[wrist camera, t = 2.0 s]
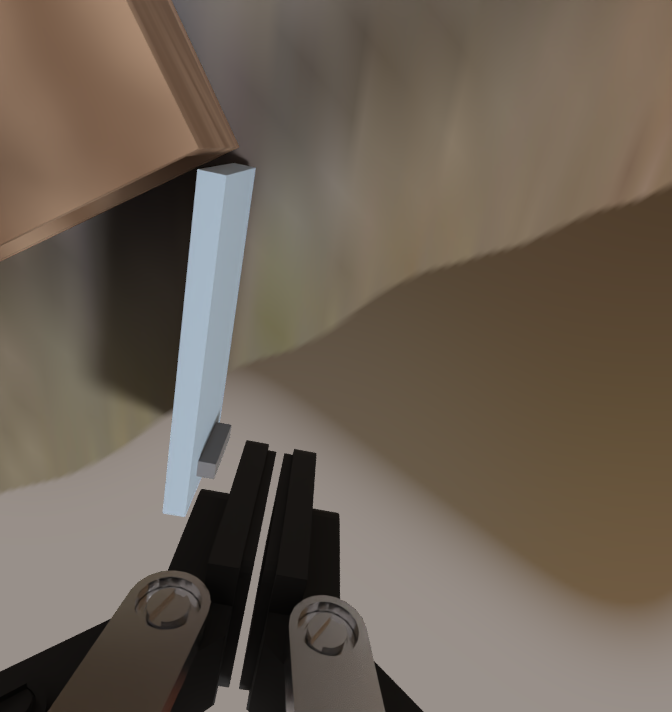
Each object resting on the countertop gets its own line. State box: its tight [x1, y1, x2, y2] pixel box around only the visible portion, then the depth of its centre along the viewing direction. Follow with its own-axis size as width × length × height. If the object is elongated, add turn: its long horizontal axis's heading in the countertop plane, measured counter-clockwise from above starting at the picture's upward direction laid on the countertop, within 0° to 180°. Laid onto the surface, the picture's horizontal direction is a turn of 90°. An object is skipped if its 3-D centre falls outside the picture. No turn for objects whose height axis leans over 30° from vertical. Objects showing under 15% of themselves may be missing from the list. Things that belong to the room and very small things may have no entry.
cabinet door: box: [163, 163, 256, 517], centre depth 29 cm, size 18×2×8 cm, turn 168°
